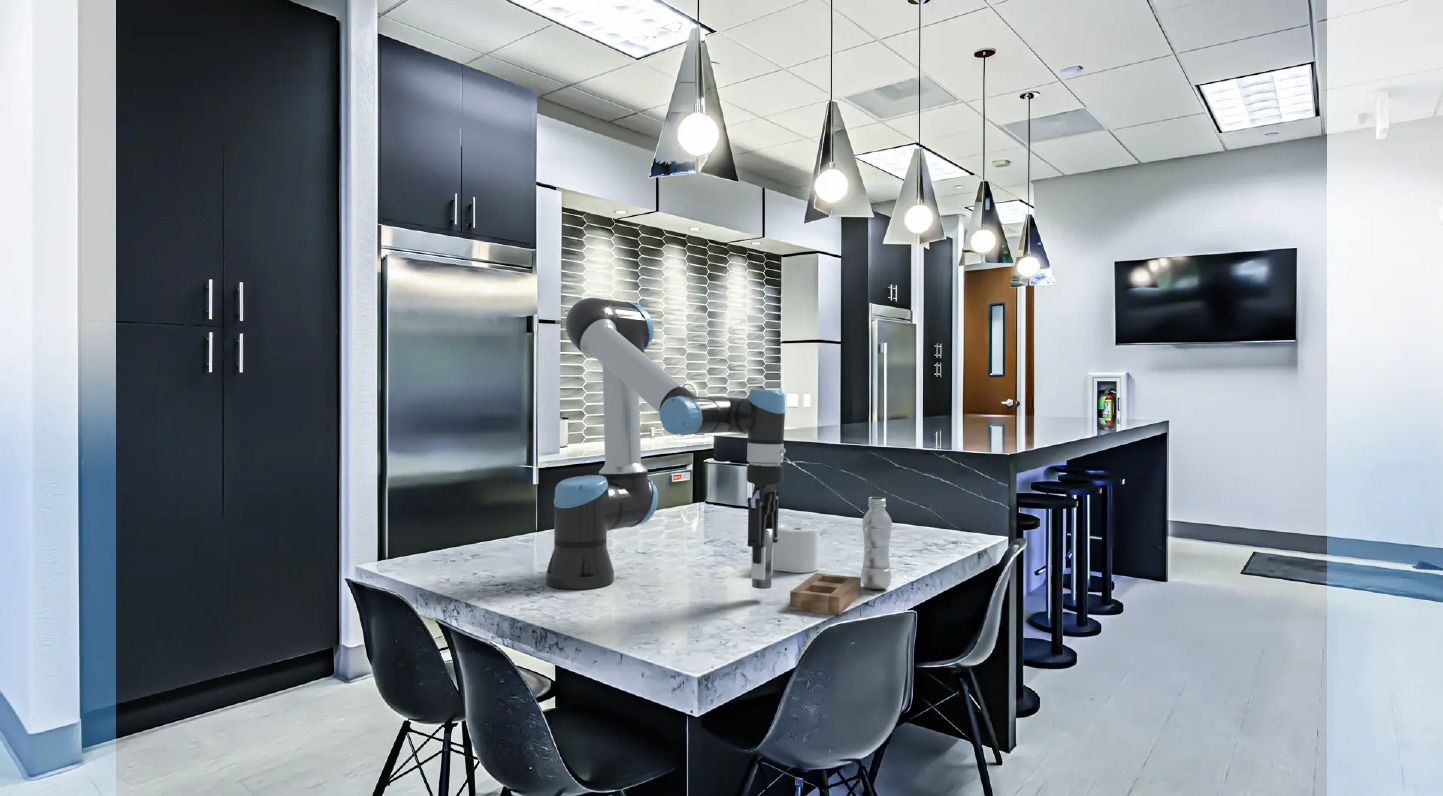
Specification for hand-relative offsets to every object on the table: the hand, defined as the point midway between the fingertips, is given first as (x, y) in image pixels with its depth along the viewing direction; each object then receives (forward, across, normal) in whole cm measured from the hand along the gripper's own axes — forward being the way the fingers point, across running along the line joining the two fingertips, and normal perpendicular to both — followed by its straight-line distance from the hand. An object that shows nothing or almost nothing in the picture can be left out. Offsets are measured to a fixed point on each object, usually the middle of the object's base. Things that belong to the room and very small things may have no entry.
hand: (761, 575), depth 161 cm
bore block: (+5, +5, -13) cm, 14 cm away
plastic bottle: (+5, +20, -20) cm, 28 cm away
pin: (+2, 0, 0) cm, 2 cm away
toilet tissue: (+5, +31, +2) cm, 31 cm away
